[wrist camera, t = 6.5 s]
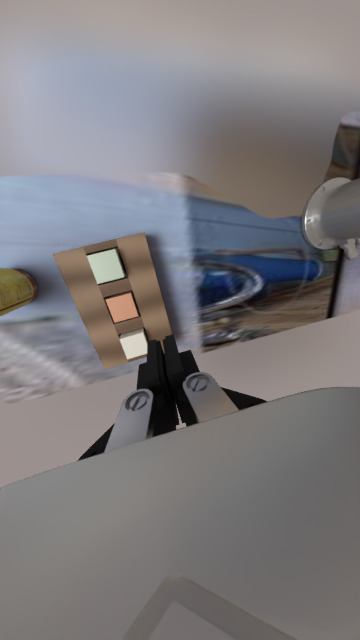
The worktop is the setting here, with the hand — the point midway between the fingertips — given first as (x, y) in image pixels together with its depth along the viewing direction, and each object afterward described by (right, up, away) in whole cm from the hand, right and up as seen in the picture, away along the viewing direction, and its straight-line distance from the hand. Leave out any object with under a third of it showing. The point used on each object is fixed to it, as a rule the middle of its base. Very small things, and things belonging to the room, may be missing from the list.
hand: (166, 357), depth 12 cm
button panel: (-10, +6, +24) cm, 26 cm away
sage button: (-11, +11, +19) cm, 25 cm away
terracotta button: (-9, +5, +22) cm, 25 cm away
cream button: (-8, -1, +24) cm, 25 cm away
